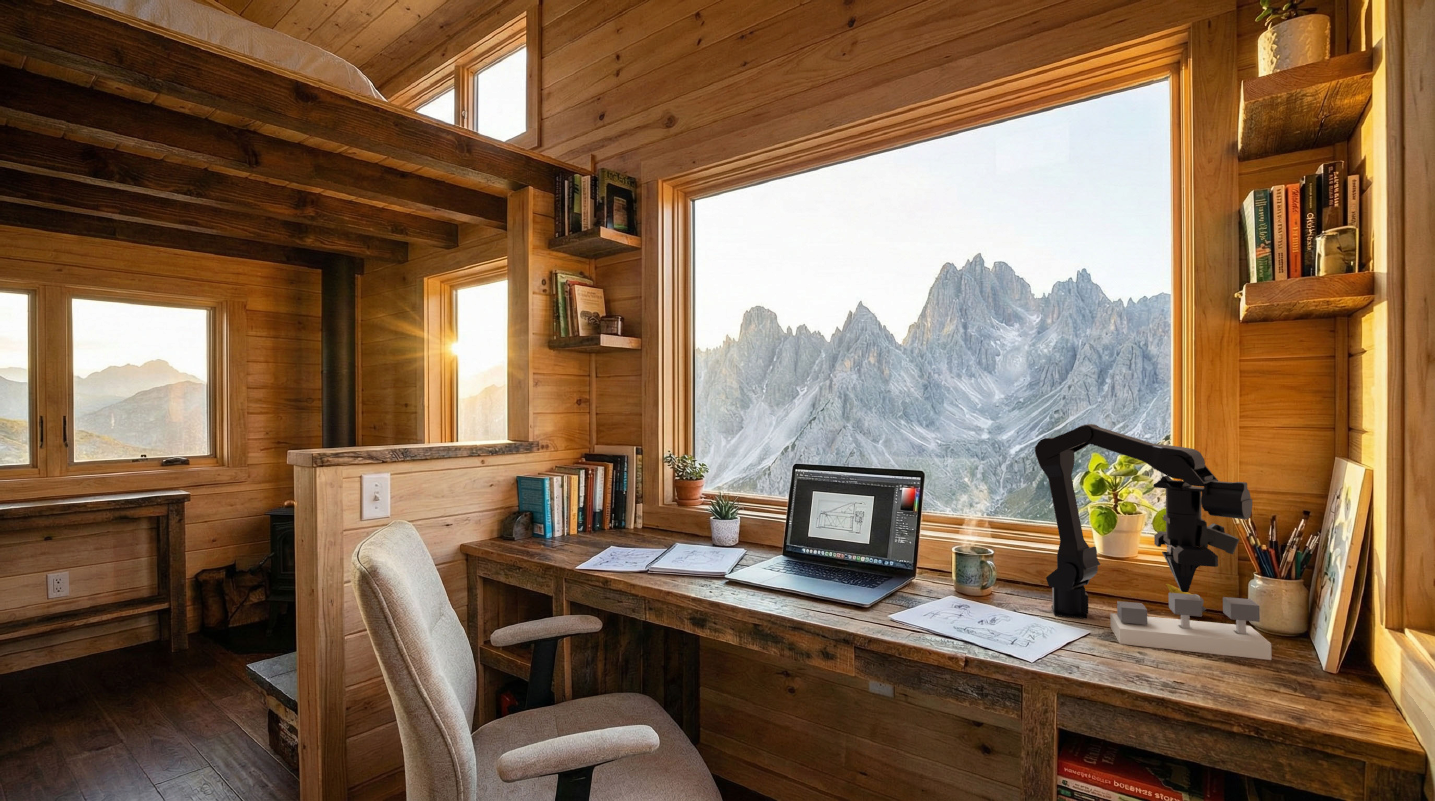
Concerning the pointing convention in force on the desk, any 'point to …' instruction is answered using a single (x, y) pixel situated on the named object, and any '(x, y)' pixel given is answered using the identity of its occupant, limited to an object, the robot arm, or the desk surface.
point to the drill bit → (1175, 590)
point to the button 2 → (1241, 612)
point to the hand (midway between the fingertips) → (1184, 591)
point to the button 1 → (1132, 612)
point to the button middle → (1185, 607)
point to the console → (1192, 637)
